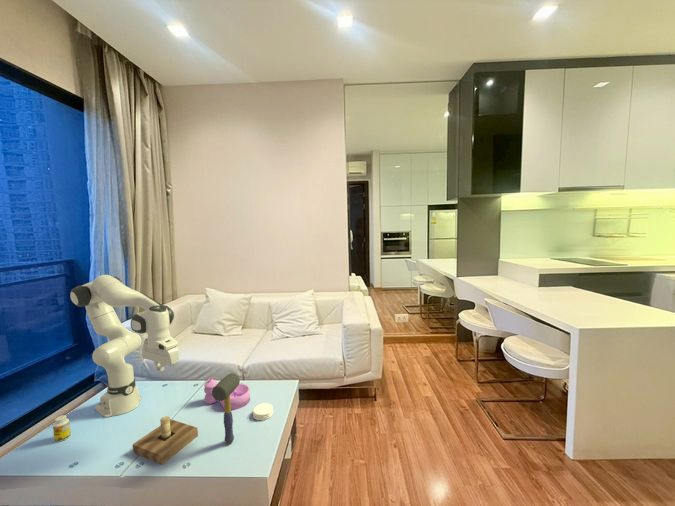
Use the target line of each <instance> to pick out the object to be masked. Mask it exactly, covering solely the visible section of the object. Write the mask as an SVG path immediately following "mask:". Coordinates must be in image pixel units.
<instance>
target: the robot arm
mask: <svg viewBox="0 0 675 506" xmlns="http://www.w3.org/2000/svg"><path fill="white" fill-rule="evenodd" d="M69 296H70V300H71V302H72V303H73V304H74V305H75V306H77V307H85V310H86V314H87V317H88V319H89V321H90V324H91V326H92V327H93V330H94V331H95V333H96V334H97V335H99V336H104V337H106V339H108V340H109V341H107V342H105V343H103V344H101V345H99V346H98V347H97V348H95V349H94V350H93V352H92V354H91V355H92V356H91V357H92V361H93V363H94V364H96V365H97V366H100V367H103V368H104V369H105V371H106V375H107V381H108V384H107V385H106V388H107V391H106V392H105V393H104V394H103V395H101V396H100V398H99V403H98V404H97V405H96V406H95V407H94V410H95V411H97V413H99V415H101V416H102V417H103V418H111V417H113V416H114V417H115V416H118V415H119V416H120V415H123V414H127V413H128V412H131V411H133V410H135V409H136V408H137V407H139V405H140V401H141V400H142V396H140V392H139V388H138V387H139V386H138V385H136V382H137V381H136V378H134V377H135V376H134V375H135V374H134V366H133V365H132V364H131V363H128V362H126V360H125V357H126V356H128V355H130V354H132V353H134V352H135V351H136V350H138V348H140V347H141V345H142V347H141V348H142V349H141V357H142V359H145V360H149V361H152V362H153V364H154V366H155V370H156V371H158V372H163V371H165V366H171V367H172V366H175V365H176V364H177V363H178V362H179V348H178V347H177V346H179V341H178V340H177V339H175V338H174V337H172V336H171V332H170V329H169V328H170V326H171V324H172V323H173V321H174V318H175V313H174V311H173V310H172V308H171V307H169V306H167V305H165V304H162V303H160V302H158V301H156V300H155V299H154V298H152V297H150V296H149V295H147V294H146V293H144V292H141V291H140V290H139V291H138V290H135V289H132V288H131V287H129V286H127V285H125V284H124V283H123V282H122V280H121V279H120V278H119V277H117V276H111V275H110V274H101V275H99V276H97V277H95V279H94V280H93V281H91V282H87V283H84V284H83V285H77V286H75V287H74V288H72V289H71V291H70V293H69ZM125 307H137V308H141V309H143V310H144V311H140V312H138V313H135V314H134V315H132V317H131V319H130V328H131V330H132V331H130V330H129V329H128V328H127V327H125V325H124V324H123V323H122V322H121V321H120V320H121V319H120V318H119V316H118V315H117V313H116V310H115V308H125ZM140 334H147V338H144V340H142V337H141V336H140ZM142 341H143V344H142Z"/></svg>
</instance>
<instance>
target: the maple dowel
mask: <svg viewBox="0 0 675 506" xmlns="http://www.w3.org/2000/svg"><path fill="white" fill-rule="evenodd" d="M170 419H171V417H170V416H169V415H165V416H163V417H162V418H160V426H161V435H162V436H161V437H162V441H166V440H167V439H169V438H170V437H171V429H170Z"/></svg>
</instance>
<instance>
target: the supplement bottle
mask: <svg viewBox="0 0 675 506" xmlns="http://www.w3.org/2000/svg"><path fill="white" fill-rule="evenodd" d="M52 430H53V431H52V432H53V439H54V442H56V443H58V442H62V441H65V440H67V439H69V438H70V437H71V434H72V433H71V425H70V419H69V418H67V415H66V414H62V415H59V416H56V418H54V423H53V424H52Z"/></svg>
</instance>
